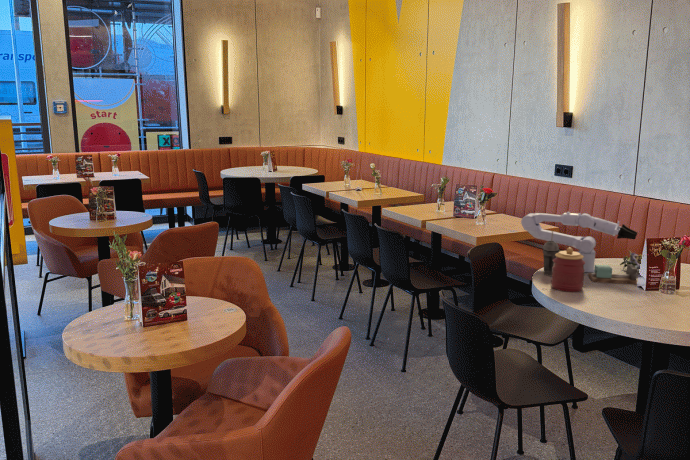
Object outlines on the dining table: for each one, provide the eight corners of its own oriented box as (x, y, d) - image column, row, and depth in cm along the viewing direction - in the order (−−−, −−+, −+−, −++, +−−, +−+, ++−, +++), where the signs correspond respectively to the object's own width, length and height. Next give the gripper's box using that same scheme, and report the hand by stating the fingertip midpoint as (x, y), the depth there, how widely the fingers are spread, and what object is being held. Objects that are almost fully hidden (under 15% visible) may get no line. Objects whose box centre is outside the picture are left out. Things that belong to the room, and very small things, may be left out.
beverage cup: (539, 275, 274) (542, 232, 270) (542, 271, 280) (545, 229, 276) (556, 277, 270) (559, 234, 267) (558, 273, 277) (561, 231, 273)
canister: (581, 284, 259) (584, 245, 255) (584, 293, 247) (588, 252, 243) (549, 282, 262) (552, 243, 259) (551, 291, 250) (554, 250, 246)
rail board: (593, 282, 263) (594, 267, 262) (587, 276, 272) (589, 262, 271) (636, 284, 260) (638, 269, 259) (630, 277, 270) (631, 263, 268)
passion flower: (638, 284, 278) (641, 268, 270) (614, 276, 285) (616, 259, 276) (647, 267, 283) (650, 251, 275) (624, 260, 290) (626, 243, 281)
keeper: (597, 277, 264) (597, 267, 263) (593, 273, 270) (594, 264, 269) (611, 278, 263) (612, 268, 262) (608, 274, 269) (608, 265, 268)
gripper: (606, 220, 267) (638, 229, 261) (609, 216, 280) (640, 225, 274) (601, 234, 269) (633, 244, 263) (604, 230, 281) (634, 240, 276)
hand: (636, 236), depth 269 cm, fingers open, 7 cm apart
